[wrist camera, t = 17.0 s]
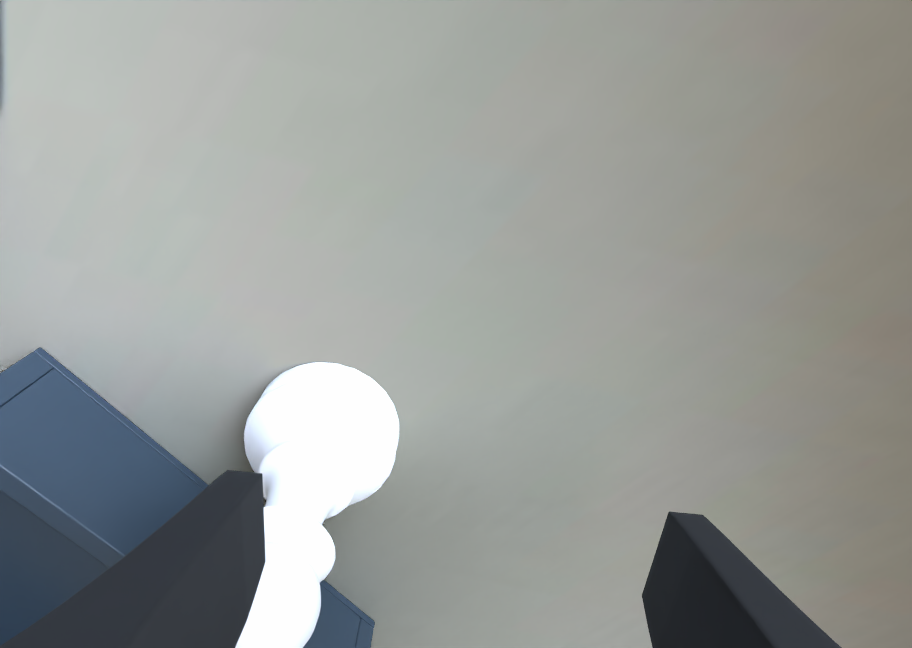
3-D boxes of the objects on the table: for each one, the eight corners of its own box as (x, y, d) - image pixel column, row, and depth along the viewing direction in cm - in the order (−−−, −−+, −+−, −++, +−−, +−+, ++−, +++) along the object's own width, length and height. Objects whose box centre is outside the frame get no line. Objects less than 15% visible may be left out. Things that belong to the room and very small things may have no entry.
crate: (-171, 552, 23) (-299, 650, 20) (40, 346, 20) (-67, 416, 16) (155, 753, 28) (105, 864, 24) (375, 621, 25) (358, 727, 21)
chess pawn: (262, 347, 19) (112, 552, 11) (410, 373, 20) (370, 591, 11) (255, 467, 21) (123, 717, 13) (390, 489, 22) (343, 745, 13)
